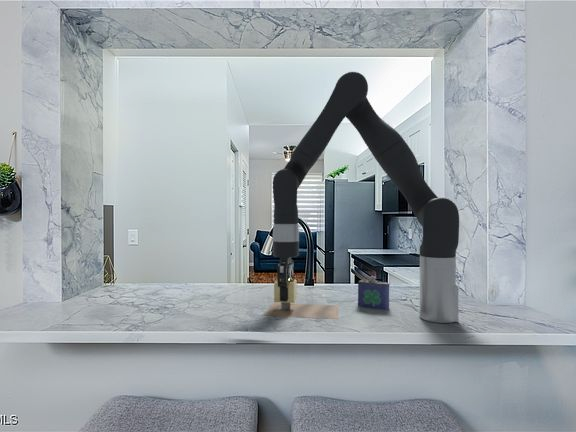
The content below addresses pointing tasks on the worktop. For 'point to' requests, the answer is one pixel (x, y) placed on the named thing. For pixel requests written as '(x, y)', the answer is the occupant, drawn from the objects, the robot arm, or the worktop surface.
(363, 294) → the clover print carton
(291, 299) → the cap
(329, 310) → the bolt base
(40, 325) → the worktop surface
